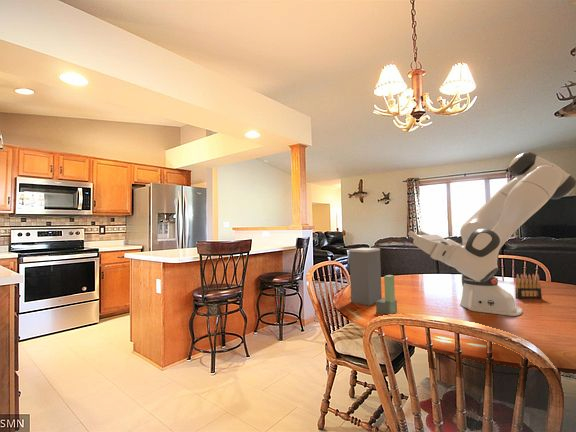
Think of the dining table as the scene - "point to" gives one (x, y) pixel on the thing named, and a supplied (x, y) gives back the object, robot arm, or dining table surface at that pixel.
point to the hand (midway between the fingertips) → (414, 232)
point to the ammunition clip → (528, 287)
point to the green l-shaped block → (387, 297)
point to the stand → (365, 275)
